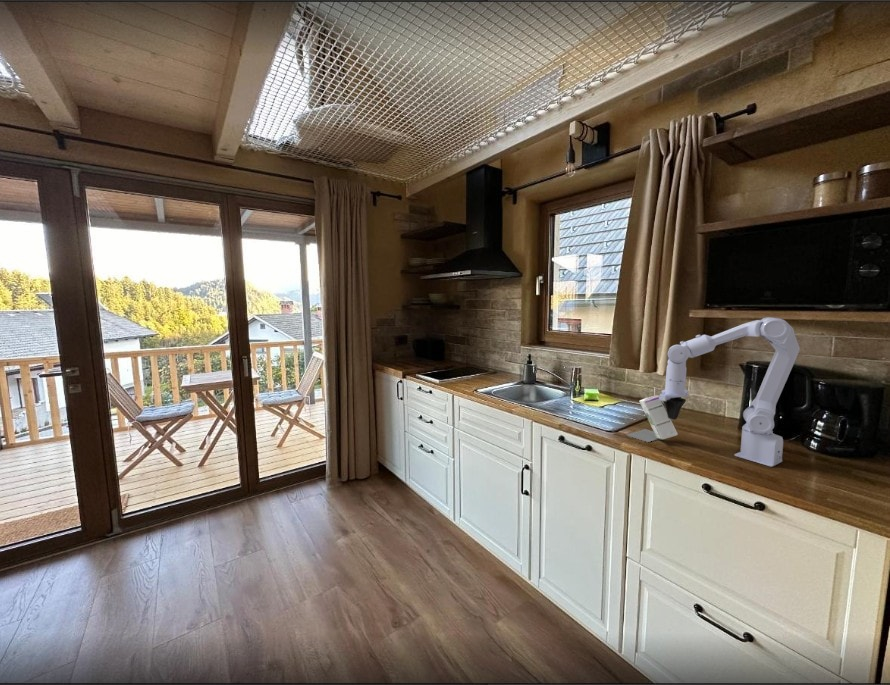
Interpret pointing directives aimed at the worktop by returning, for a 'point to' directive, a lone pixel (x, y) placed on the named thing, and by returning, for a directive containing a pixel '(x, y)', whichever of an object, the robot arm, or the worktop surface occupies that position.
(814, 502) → the worktop surface
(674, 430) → the syrup box
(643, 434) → the mat
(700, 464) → the worktop surface
